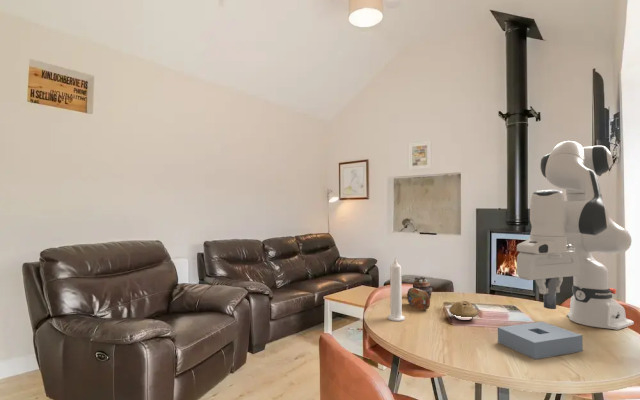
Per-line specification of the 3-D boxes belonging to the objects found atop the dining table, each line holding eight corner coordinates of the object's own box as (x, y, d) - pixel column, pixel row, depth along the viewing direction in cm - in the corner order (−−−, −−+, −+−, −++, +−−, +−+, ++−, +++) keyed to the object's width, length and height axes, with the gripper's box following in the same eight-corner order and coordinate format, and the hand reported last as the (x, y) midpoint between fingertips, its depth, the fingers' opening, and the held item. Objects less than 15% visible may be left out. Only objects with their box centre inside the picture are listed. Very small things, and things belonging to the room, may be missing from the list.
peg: (548, 305, 101) (548, 271, 101) (558, 308, 98) (557, 273, 98) (541, 306, 100) (540, 272, 100) (550, 309, 97) (550, 274, 97)
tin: (406, 303, 165) (406, 286, 165) (412, 303, 166) (412, 285, 166) (425, 312, 150) (425, 293, 150) (431, 312, 151) (431, 292, 151)
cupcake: (423, 300, 170) (423, 280, 170) (408, 296, 178) (408, 277, 178) (436, 297, 175) (436, 278, 175) (421, 294, 183) (421, 275, 184)
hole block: (542, 335, 123) (542, 321, 123) (582, 351, 109) (582, 335, 109) (497, 342, 117) (497, 327, 117) (534, 359, 103) (534, 342, 103)
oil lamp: (477, 314, 147) (477, 296, 147) (478, 325, 134) (477, 304, 134) (450, 311, 152) (450, 293, 152) (448, 321, 138) (447, 301, 138)
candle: (392, 314, 147) (392, 256, 148) (407, 318, 142) (407, 257, 143) (384, 318, 141) (384, 258, 142) (400, 322, 137) (399, 259, 138)
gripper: (564, 242, 105) (565, 287, 105) (512, 245, 99) (513, 293, 99) (585, 244, 99) (586, 292, 99) (531, 248, 93) (532, 299, 93)
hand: (549, 293), depth 99 cm, fingers closed on peg, 3 cm apart
